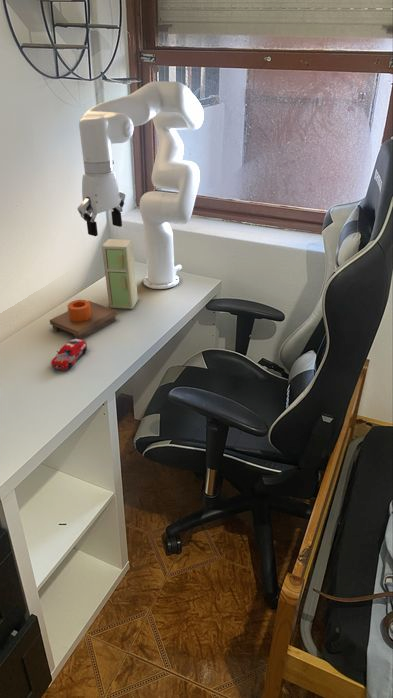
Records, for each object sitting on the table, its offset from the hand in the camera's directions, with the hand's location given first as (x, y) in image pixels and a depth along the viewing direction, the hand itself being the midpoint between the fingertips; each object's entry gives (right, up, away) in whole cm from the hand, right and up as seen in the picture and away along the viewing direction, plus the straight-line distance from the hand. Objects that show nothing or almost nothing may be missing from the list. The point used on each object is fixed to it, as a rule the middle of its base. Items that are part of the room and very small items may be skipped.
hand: (105, 230), depth 148 cm
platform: (-8, -26, +12) cm, 30 cm away
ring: (-9, -24, +9) cm, 27 cm away
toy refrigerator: (+2, -19, +23) cm, 30 cm away
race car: (-9, -36, -5) cm, 38 cm away
